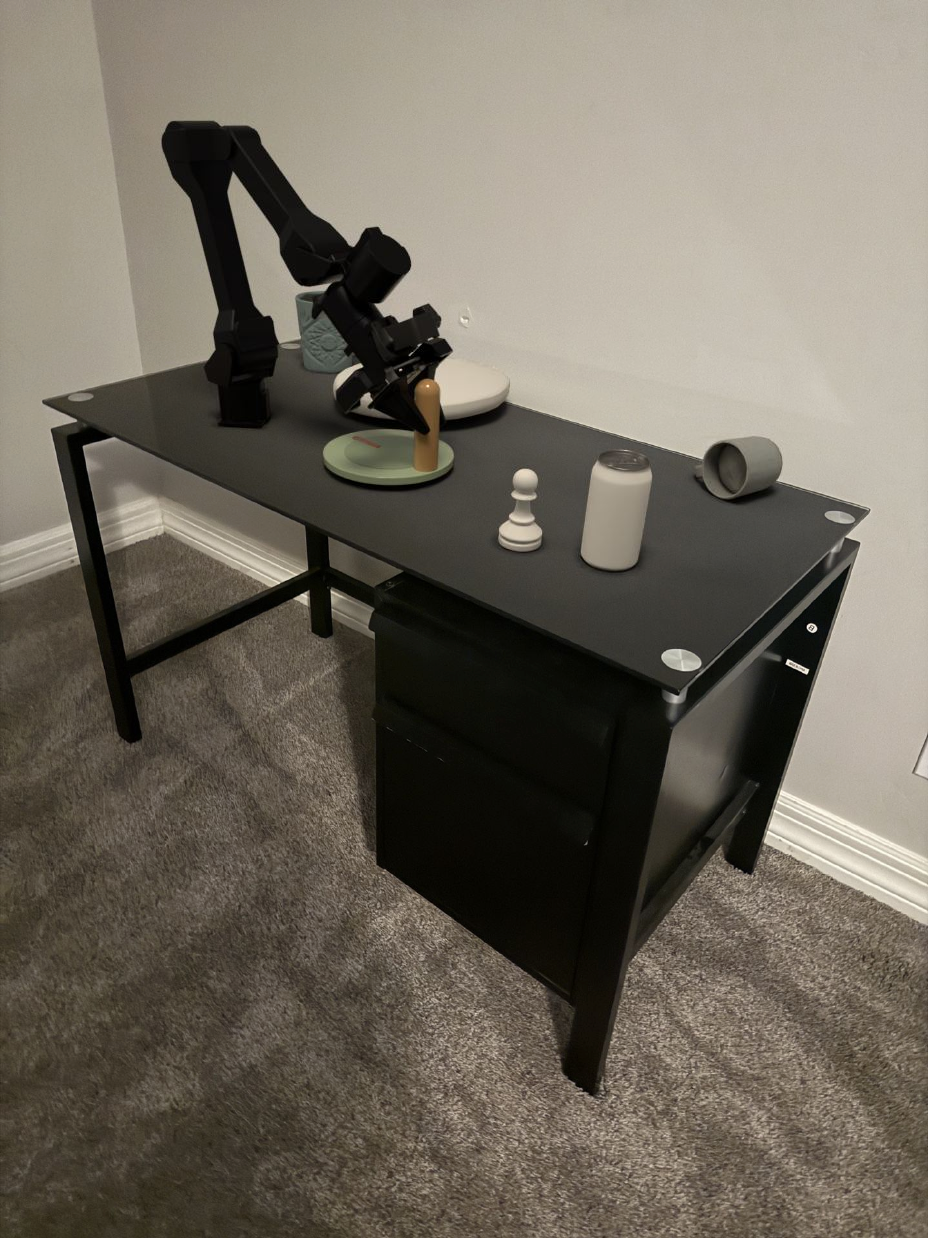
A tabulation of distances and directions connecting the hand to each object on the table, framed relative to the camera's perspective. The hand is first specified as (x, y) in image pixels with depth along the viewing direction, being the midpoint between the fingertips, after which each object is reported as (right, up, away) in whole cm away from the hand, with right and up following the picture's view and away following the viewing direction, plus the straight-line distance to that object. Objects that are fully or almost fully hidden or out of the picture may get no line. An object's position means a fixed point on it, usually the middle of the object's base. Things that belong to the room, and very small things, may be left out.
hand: (435, 428), depth 110 cm
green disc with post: (-7, -3, +8) cm, 11 cm away
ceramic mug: (+39, -7, +8) cm, 41 cm away
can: (+20, -17, -11) cm, 29 cm away
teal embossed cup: (-21, +21, +46) cm, 55 cm away
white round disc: (-3, +10, +31) cm, 33 cm away
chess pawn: (+10, -15, -9) cm, 20 cm away
